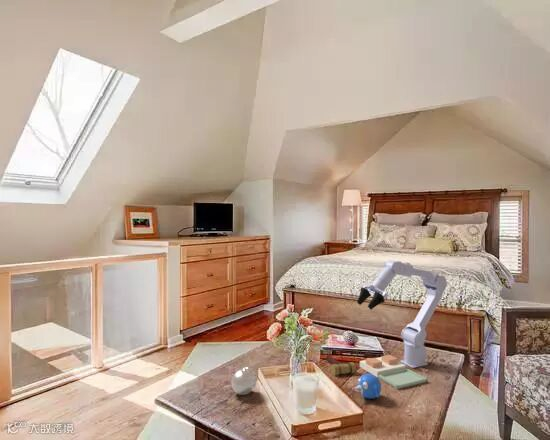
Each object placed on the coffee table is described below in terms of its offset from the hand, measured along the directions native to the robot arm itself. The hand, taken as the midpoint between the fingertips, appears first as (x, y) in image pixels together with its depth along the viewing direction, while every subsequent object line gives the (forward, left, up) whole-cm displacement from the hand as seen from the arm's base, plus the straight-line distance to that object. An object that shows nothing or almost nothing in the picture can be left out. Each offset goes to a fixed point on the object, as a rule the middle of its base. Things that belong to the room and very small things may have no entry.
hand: (363, 305), depth 156 cm
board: (-10, +1, -29) cm, 31 cm away
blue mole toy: (+14, +19, -29) cm, 37 cm away
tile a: (-14, +1, -27) cm, 30 cm away
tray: (-10, +13, -29) cm, 33 cm away
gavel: (+8, -10, -30) cm, 32 cm away
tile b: (-5, +1, -27) cm, 27 cm away
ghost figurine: (+55, -2, -29) cm, 62 cm away
